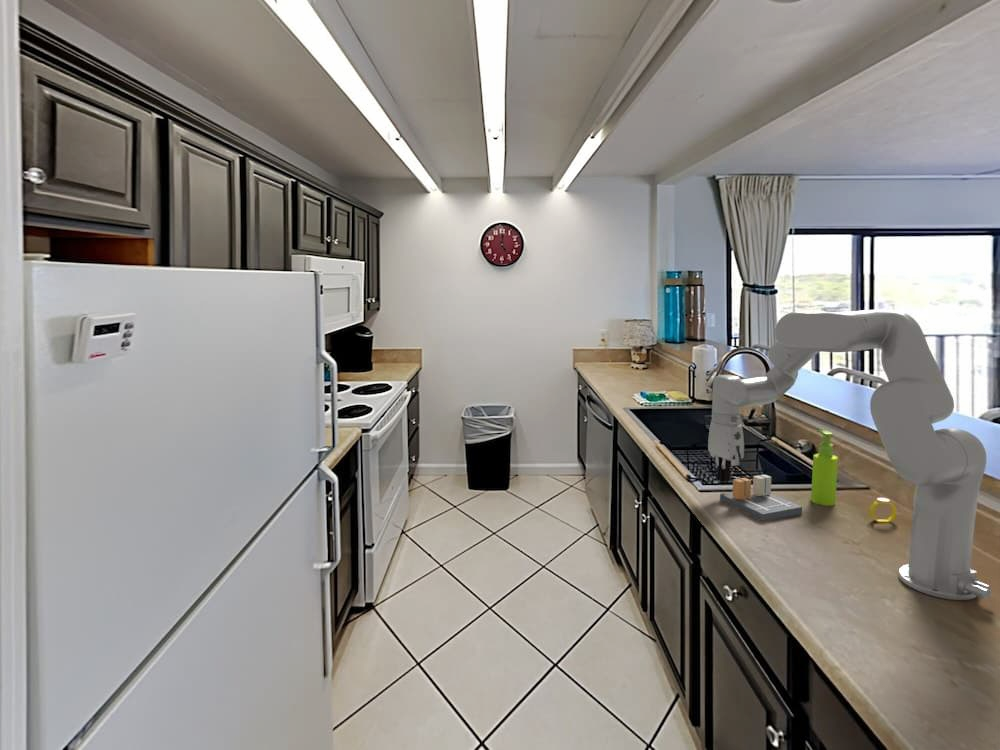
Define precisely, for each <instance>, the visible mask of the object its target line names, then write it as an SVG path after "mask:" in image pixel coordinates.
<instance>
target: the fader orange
mask: <svg viewBox="0 0 1000 750" xmlns="http://www.w3.org/2000/svg"><path fill="white" fill-rule="evenodd" d="M751 489H752V480H751V479H750V478H747V477H741V478H740V477H739V478H734V479H732V492H733V497H734V498H736V499H738V500H740V499H746V498H751Z"/></svg>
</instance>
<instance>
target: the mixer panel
mask: <svg viewBox="0 0 1000 750" xmlns="http://www.w3.org/2000/svg"><path fill="white" fill-rule="evenodd" d="M719 501H720V502H722V503H724V504H726V505H728V506H730V507H732V508H734V509H737V510H739V511H740V512H743V513H744V514H746V515H748V516H751V517H752V518H755V519H757V520H759V521H760V522H767V521H773V520H777V519H779V520H780V519H784V518H788V517H795V516H799V515H803V506H801V505H800V504H799V505H798V504H797V503H795V502H792V501H789V500H787V499H785V498H782V497H780V496H778V495H776V494H772V493H771V494H769V495H763V496H758V495H756V494H753V488H751V498H746V499H740V500H738V499H736V498H734V497H733V491H730V492H724V493H722V492H721V493H720V494H719Z"/></svg>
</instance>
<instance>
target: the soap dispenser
mask: <svg viewBox="0 0 1000 750" xmlns="http://www.w3.org/2000/svg"><path fill="white" fill-rule="evenodd" d="M816 433H820V434H822V441H821V442H819V444H818V453H815V454H813V456H812V457H813V459H812V475H811V476H812V478H811V479H812V480H811V491H810V493H811V496H810V501H811V502H812V503H814V504H815V505H816V504H817V505H820V506H827V507H828V506H829V507H830V506H831V507H832V506H834V505H836V499H837V498H836V497H837V496H836V495H837V484H838V483H837V480H838V478H837V477H838V463H839V457H838V456H836V455H834V444H833V443H831V437H833V436H834V433H833V432H831V431H829V430H827V429H816Z"/></svg>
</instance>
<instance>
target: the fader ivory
mask: <svg viewBox="0 0 1000 750" xmlns="http://www.w3.org/2000/svg"><path fill="white" fill-rule="evenodd" d="M752 489H753V494H756V495H758V496H763V495H769V494H772V493H771V492H772V476H770V475H767V474H758V475H753V478H752Z"/></svg>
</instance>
